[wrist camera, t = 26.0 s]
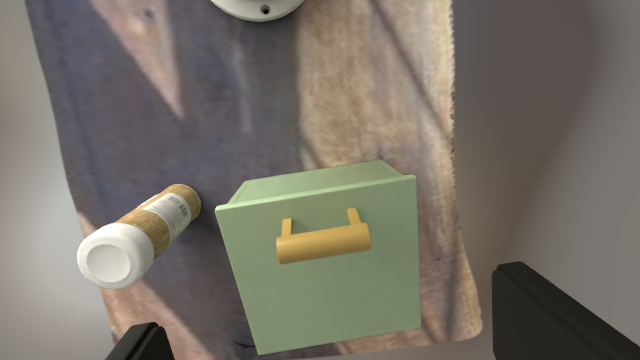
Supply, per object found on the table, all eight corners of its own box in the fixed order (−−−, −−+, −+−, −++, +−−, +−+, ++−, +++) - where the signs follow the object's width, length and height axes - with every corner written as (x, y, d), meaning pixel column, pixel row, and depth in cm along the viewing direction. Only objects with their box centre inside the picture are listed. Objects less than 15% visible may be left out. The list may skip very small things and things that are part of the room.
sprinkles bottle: (154, 190, 34) (61, 244, 21) (193, 177, 34) (123, 224, 21) (171, 227, 35) (93, 300, 22) (209, 215, 35) (153, 281, 22)
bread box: (244, 181, 34) (225, 206, 26) (380, 159, 34) (406, 176, 26) (269, 293, 38) (259, 348, 29) (393, 273, 38) (418, 321, 30)
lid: (216, 205, 24) (195, 244, 19) (413, 173, 24) (444, 203, 19) (259, 348, 29) (251, 407, 24) (418, 321, 30) (443, 374, 24)
